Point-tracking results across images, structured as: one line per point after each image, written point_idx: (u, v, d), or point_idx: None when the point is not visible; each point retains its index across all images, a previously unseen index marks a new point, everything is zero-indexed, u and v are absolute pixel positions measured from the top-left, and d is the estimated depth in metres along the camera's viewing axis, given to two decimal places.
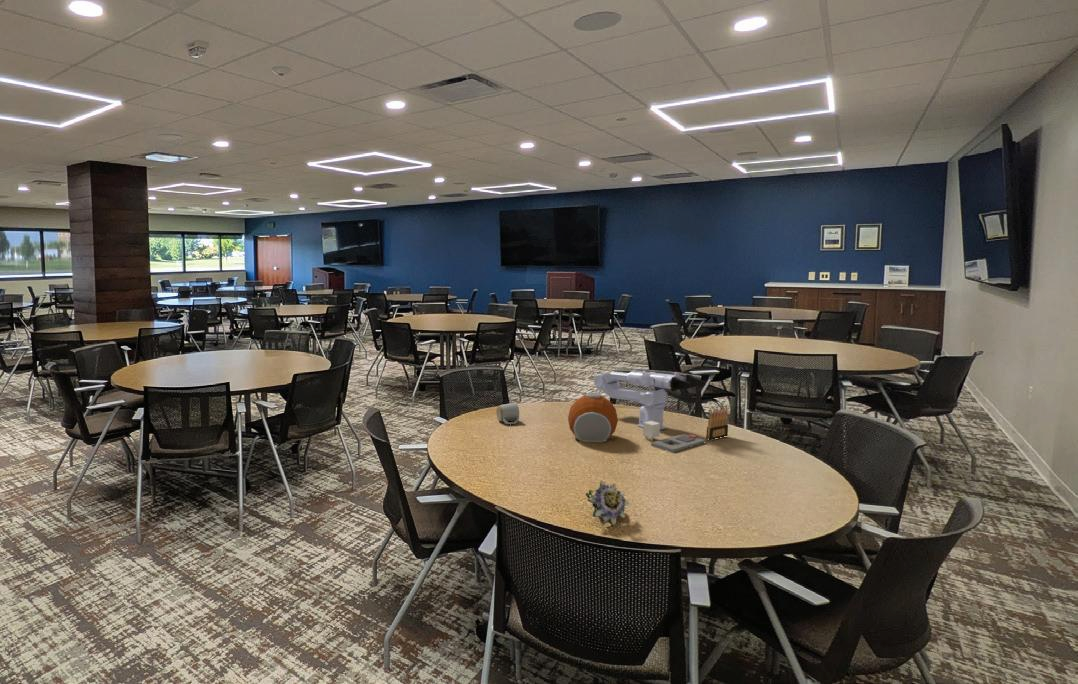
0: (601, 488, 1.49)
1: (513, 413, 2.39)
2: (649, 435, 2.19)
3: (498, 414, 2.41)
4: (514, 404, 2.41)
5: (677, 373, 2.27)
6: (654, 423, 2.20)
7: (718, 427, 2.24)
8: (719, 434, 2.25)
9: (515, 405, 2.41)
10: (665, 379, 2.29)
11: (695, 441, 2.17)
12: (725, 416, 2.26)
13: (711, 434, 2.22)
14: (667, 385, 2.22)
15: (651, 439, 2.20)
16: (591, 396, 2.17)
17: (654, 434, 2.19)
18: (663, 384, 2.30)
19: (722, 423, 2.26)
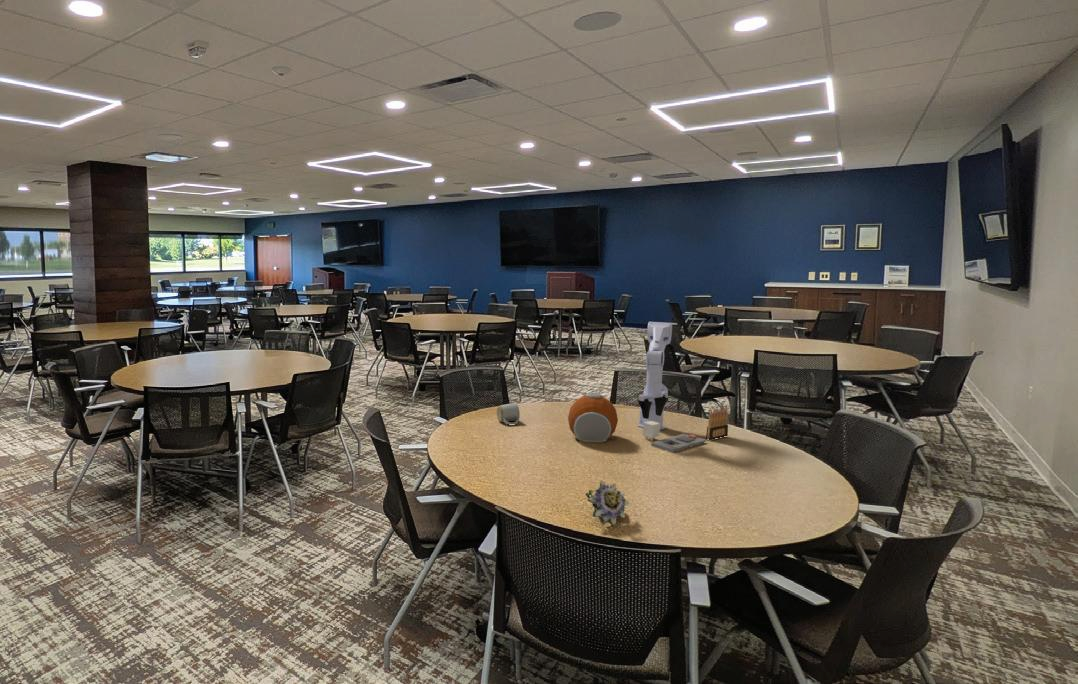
0: (601, 488, 1.49)
1: (513, 413, 2.39)
2: (649, 435, 2.19)
3: (498, 414, 2.41)
4: (514, 404, 2.41)
5: None
6: (654, 423, 2.20)
7: (718, 427, 2.24)
8: (719, 434, 2.25)
9: (515, 405, 2.40)
10: (651, 386, 2.16)
11: (695, 441, 2.17)
12: (725, 416, 2.26)
13: (711, 434, 2.22)
14: (639, 399, 2.15)
15: (651, 439, 2.20)
16: (591, 396, 2.17)
17: (654, 434, 2.19)
18: (647, 382, 2.18)
19: (722, 423, 2.26)
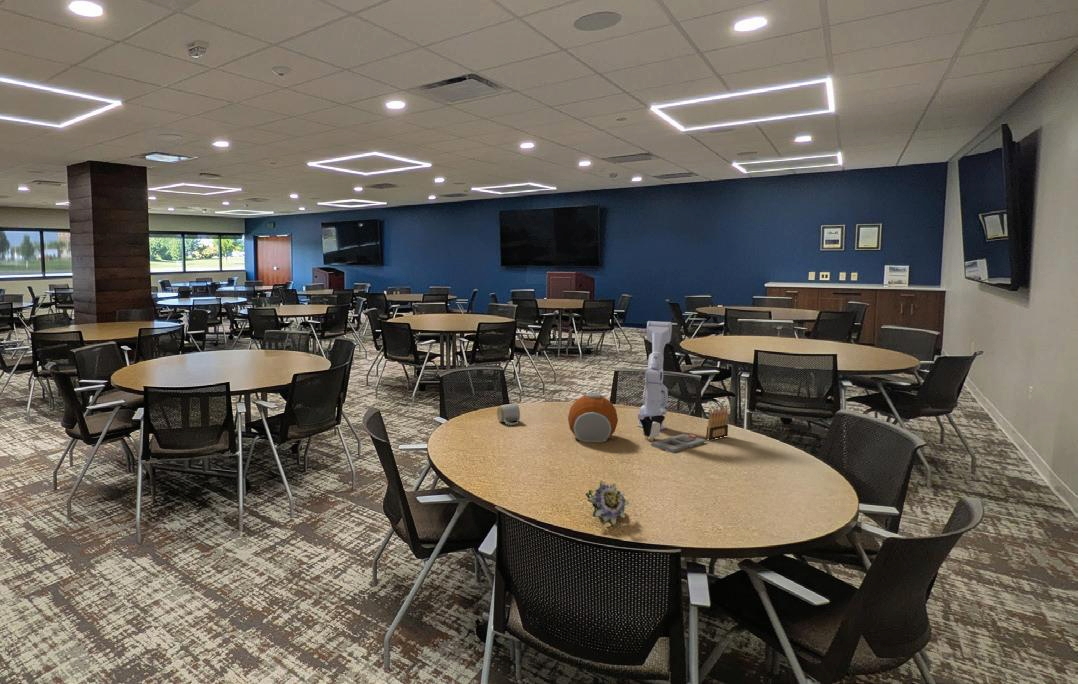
0: (601, 488, 1.49)
1: (514, 413, 2.38)
2: None
3: (499, 414, 2.40)
4: (515, 404, 2.41)
5: None
6: (654, 423, 2.20)
7: (718, 427, 2.24)
8: (719, 434, 2.25)
9: (516, 405, 2.40)
10: (650, 404, 2.17)
11: (695, 441, 2.17)
12: (725, 416, 2.26)
13: (711, 434, 2.22)
14: (639, 417, 2.16)
15: (651, 439, 2.20)
16: (591, 396, 2.17)
17: (654, 434, 2.19)
18: (646, 401, 2.19)
19: (722, 423, 2.26)
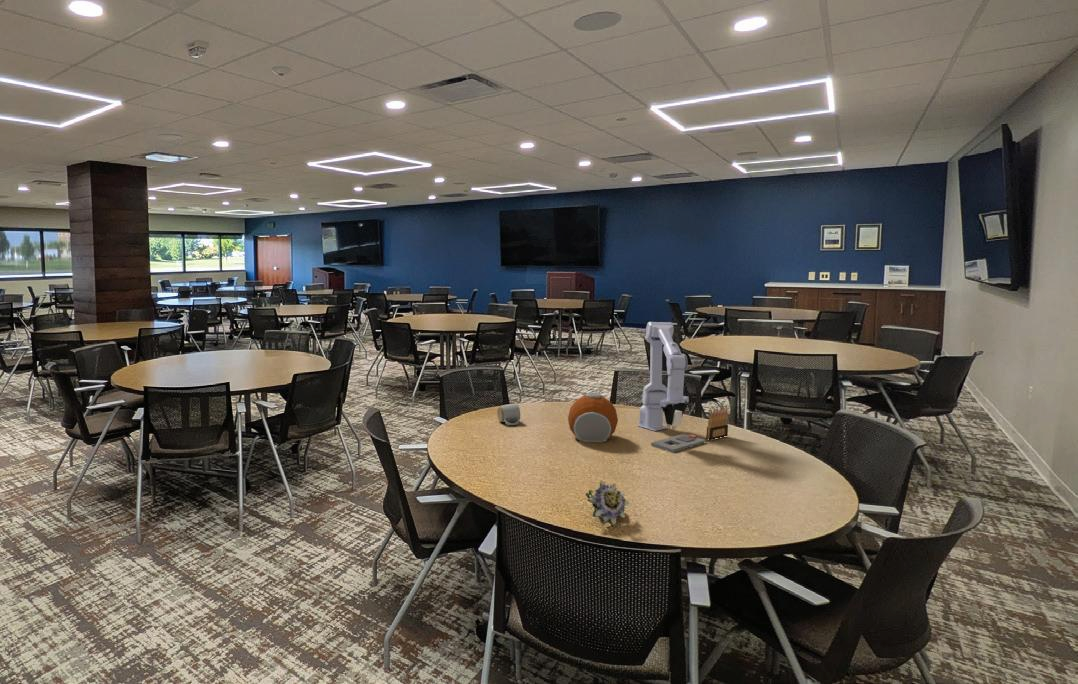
0: (601, 488, 1.49)
1: (514, 414, 2.38)
2: None
3: (499, 415, 2.40)
4: (515, 405, 2.40)
5: None
6: (676, 411, 2.12)
7: (718, 427, 2.24)
8: (719, 434, 2.25)
9: (516, 406, 2.40)
10: (673, 391, 2.09)
11: (695, 441, 2.17)
12: (725, 416, 2.26)
13: (711, 434, 2.22)
14: (661, 404, 2.08)
15: (673, 428, 2.11)
16: (591, 396, 2.17)
17: (676, 423, 2.11)
18: (668, 387, 2.10)
19: (722, 423, 2.26)
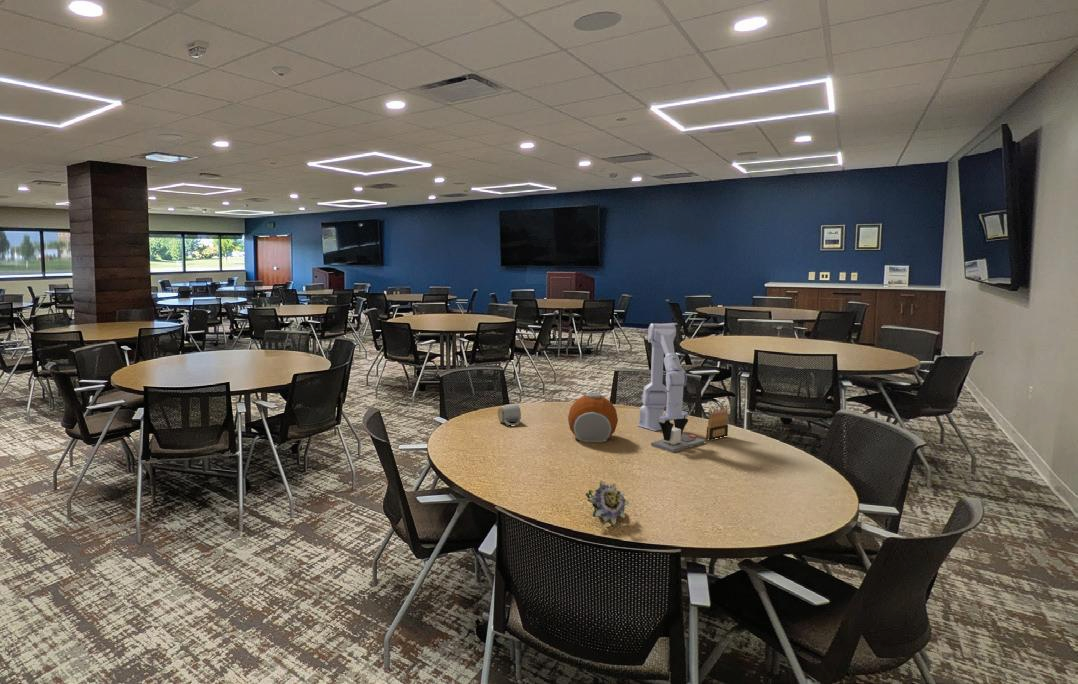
0: (601, 488, 1.49)
1: (515, 414, 2.37)
2: (670, 441, 2.12)
3: (499, 415, 2.39)
4: (516, 405, 2.40)
5: None
6: (675, 429, 2.13)
7: (718, 427, 2.24)
8: (719, 434, 2.25)
9: (517, 406, 2.39)
10: (672, 407, 2.10)
11: (695, 441, 2.17)
12: (725, 416, 2.26)
13: (711, 434, 2.22)
14: (660, 420, 2.08)
15: None
16: (591, 396, 2.17)
17: (675, 440, 2.12)
18: (667, 403, 2.11)
19: (722, 423, 2.26)
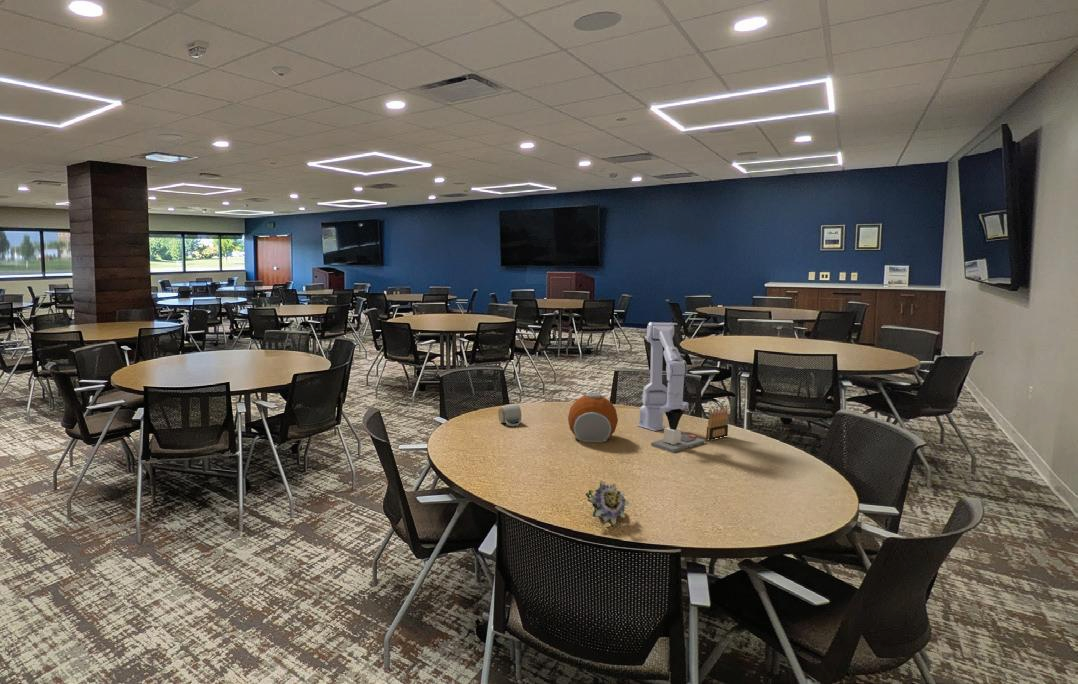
0: (601, 488, 1.49)
1: (515, 415, 2.37)
2: (670, 441, 2.12)
3: (500, 416, 2.39)
4: (516, 405, 2.39)
5: None
6: None
7: (718, 427, 2.24)
8: (719, 434, 2.25)
9: (517, 406, 2.38)
10: (673, 397, 2.09)
11: (695, 441, 2.17)
12: (725, 416, 2.26)
13: (711, 434, 2.22)
14: (661, 410, 2.08)
15: None
16: (591, 396, 2.17)
17: (675, 440, 2.12)
18: (668, 394, 2.10)
19: (722, 423, 2.26)
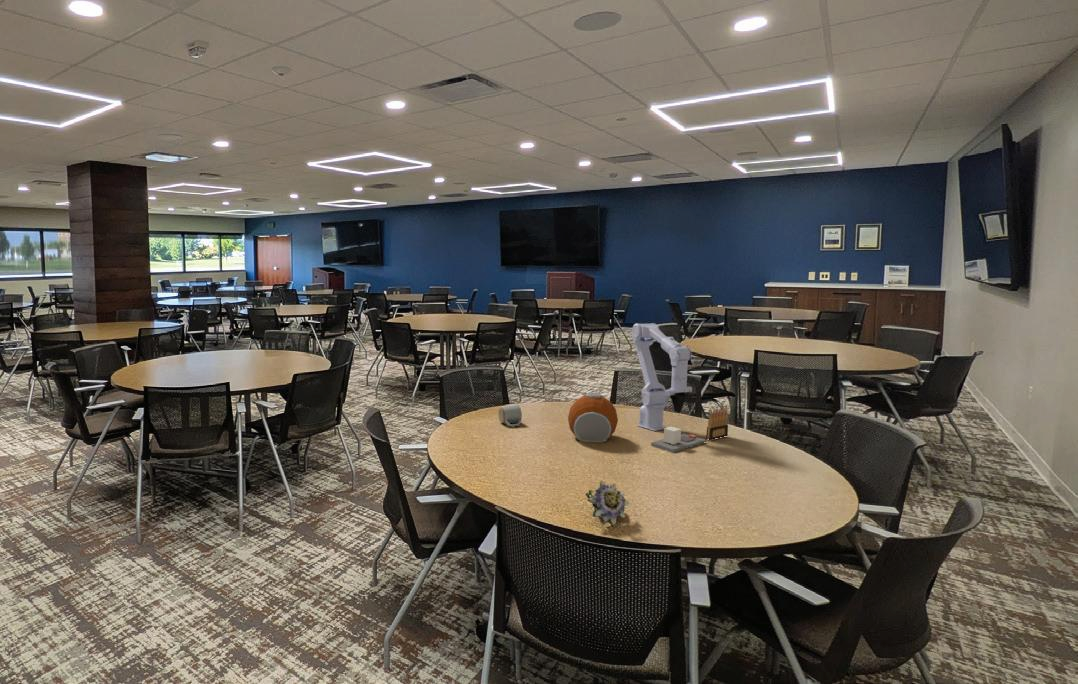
0: (601, 488, 1.49)
1: (515, 415, 2.36)
2: (670, 441, 2.12)
3: (500, 416, 2.38)
4: (516, 406, 2.39)
5: (686, 391, 2.20)
6: (675, 429, 2.13)
7: (718, 427, 2.24)
8: (719, 434, 2.25)
9: (517, 407, 2.38)
10: (677, 381, 2.19)
11: (695, 441, 2.17)
12: (725, 416, 2.26)
13: (711, 434, 2.22)
14: (666, 394, 2.18)
15: None
16: (591, 396, 2.17)
17: (675, 440, 2.12)
18: (672, 378, 2.21)
19: (722, 423, 2.26)
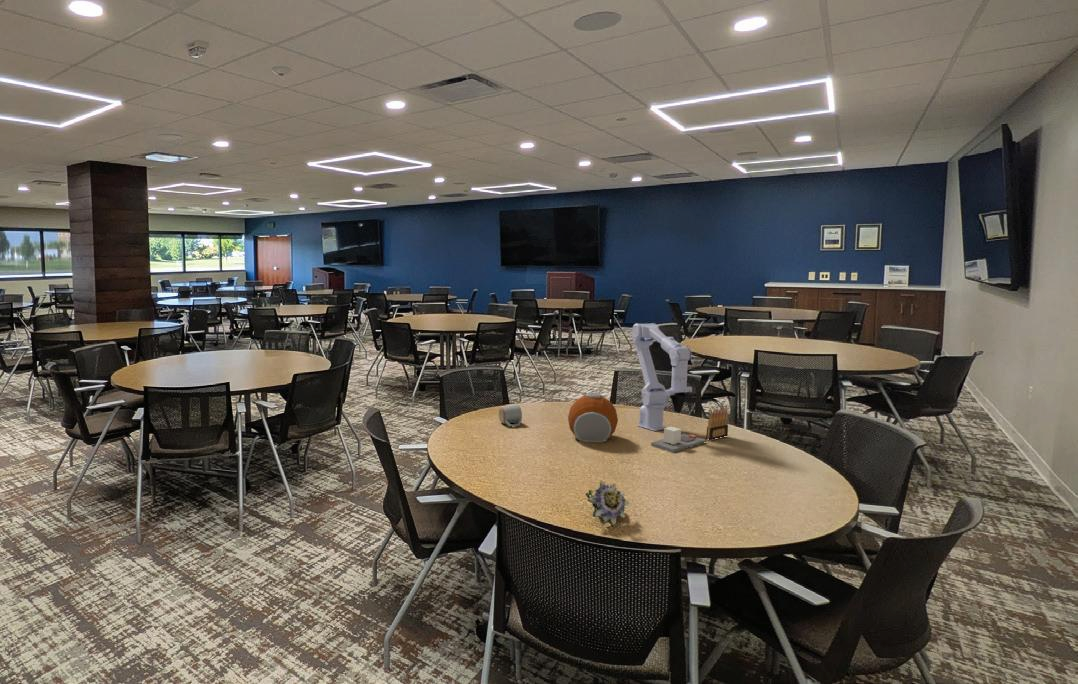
0: (601, 488, 1.49)
1: (516, 415, 2.36)
2: (670, 441, 2.12)
3: (500, 416, 2.38)
4: (517, 406, 2.38)
5: (686, 391, 2.20)
6: (675, 429, 2.13)
7: (718, 427, 2.24)
8: (719, 434, 2.25)
9: (518, 407, 2.38)
10: (677, 381, 2.19)
11: (695, 441, 2.17)
12: (725, 416, 2.26)
13: (711, 434, 2.22)
14: (666, 394, 2.18)
15: None
16: (591, 396, 2.17)
17: (675, 440, 2.12)
18: (672, 378, 2.21)
19: (722, 423, 2.26)
